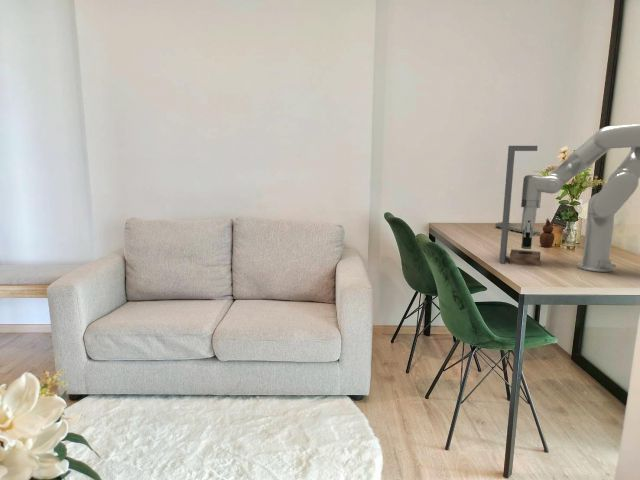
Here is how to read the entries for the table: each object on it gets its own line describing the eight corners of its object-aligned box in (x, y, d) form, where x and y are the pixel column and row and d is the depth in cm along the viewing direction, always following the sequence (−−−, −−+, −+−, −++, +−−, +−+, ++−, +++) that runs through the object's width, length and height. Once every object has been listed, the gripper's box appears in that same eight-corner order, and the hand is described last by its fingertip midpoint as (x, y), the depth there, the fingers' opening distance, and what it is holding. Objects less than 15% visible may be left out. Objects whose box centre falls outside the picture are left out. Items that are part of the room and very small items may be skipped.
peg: (533, 248, 208) (535, 230, 207) (525, 249, 207) (527, 231, 206) (526, 247, 212) (528, 229, 211) (519, 247, 211) (520, 229, 210)
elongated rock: (531, 238, 278) (544, 238, 282) (532, 229, 277) (545, 230, 281) (490, 226, 310) (502, 226, 314) (491, 218, 309) (503, 219, 313)
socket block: (539, 260, 214) (540, 251, 213) (539, 266, 203) (540, 256, 202) (510, 257, 219) (511, 249, 218) (509, 263, 208) (510, 254, 207)
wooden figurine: (544, 248, 242) (547, 218, 240) (536, 246, 248) (539, 217, 245) (555, 247, 244) (558, 218, 242) (547, 245, 250) (550, 216, 247)
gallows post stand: (527, 258, 218) (537, 146, 209) (526, 265, 203) (537, 145, 194) (501, 256, 222) (510, 146, 213) (499, 263, 208) (508, 145, 199)
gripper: (521, 201, 215) (518, 241, 219) (520, 205, 200) (516, 248, 203) (540, 202, 212) (536, 243, 216) (540, 206, 197) (536, 250, 200)
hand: (526, 245), depth 209 cm, fingers closed on peg, 4 cm apart
